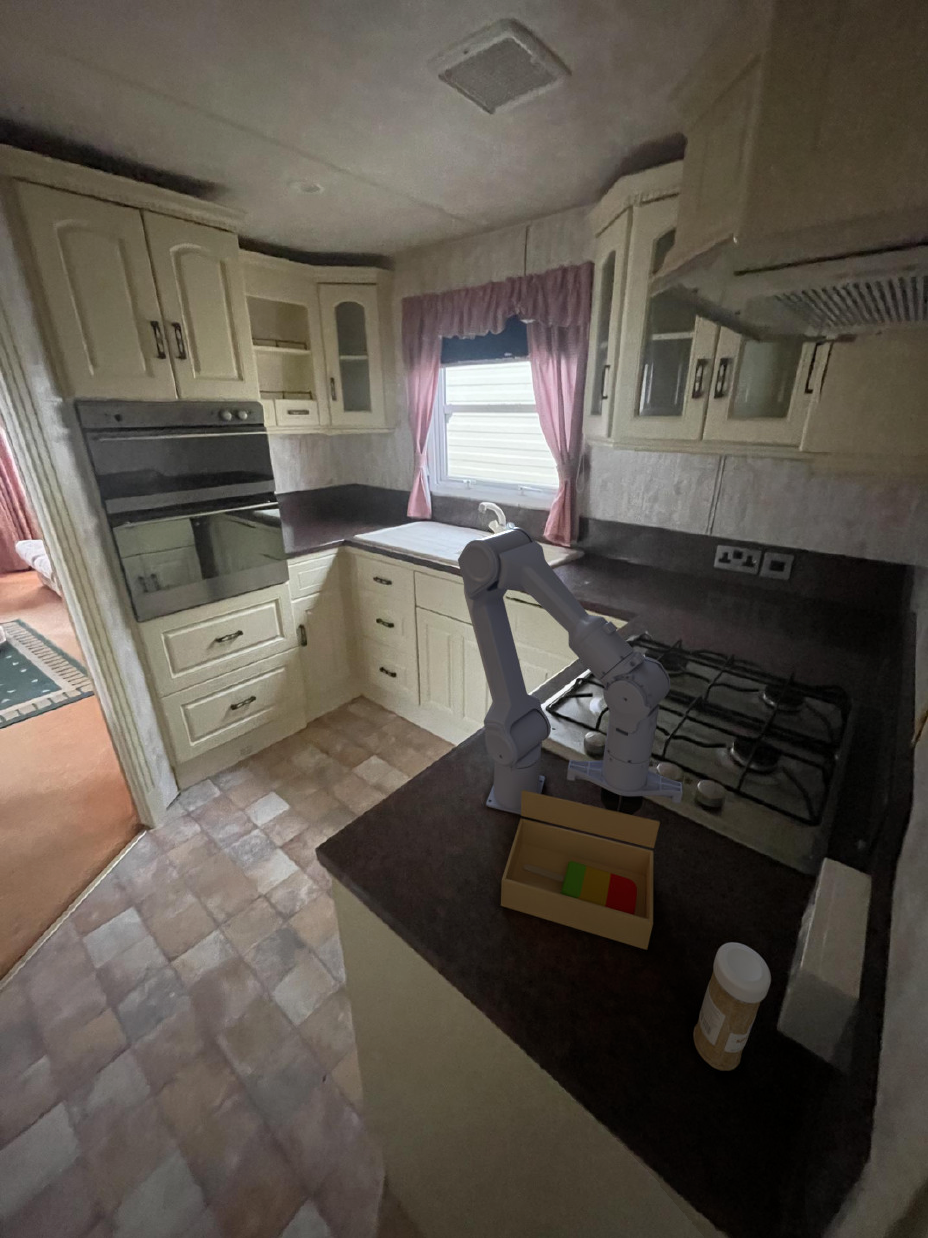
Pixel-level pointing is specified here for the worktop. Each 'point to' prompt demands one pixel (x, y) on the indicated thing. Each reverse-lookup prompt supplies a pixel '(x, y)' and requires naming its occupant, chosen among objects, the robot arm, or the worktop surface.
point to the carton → (553, 854)
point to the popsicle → (593, 886)
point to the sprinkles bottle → (730, 1005)
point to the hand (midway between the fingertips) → (615, 826)
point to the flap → (589, 818)
